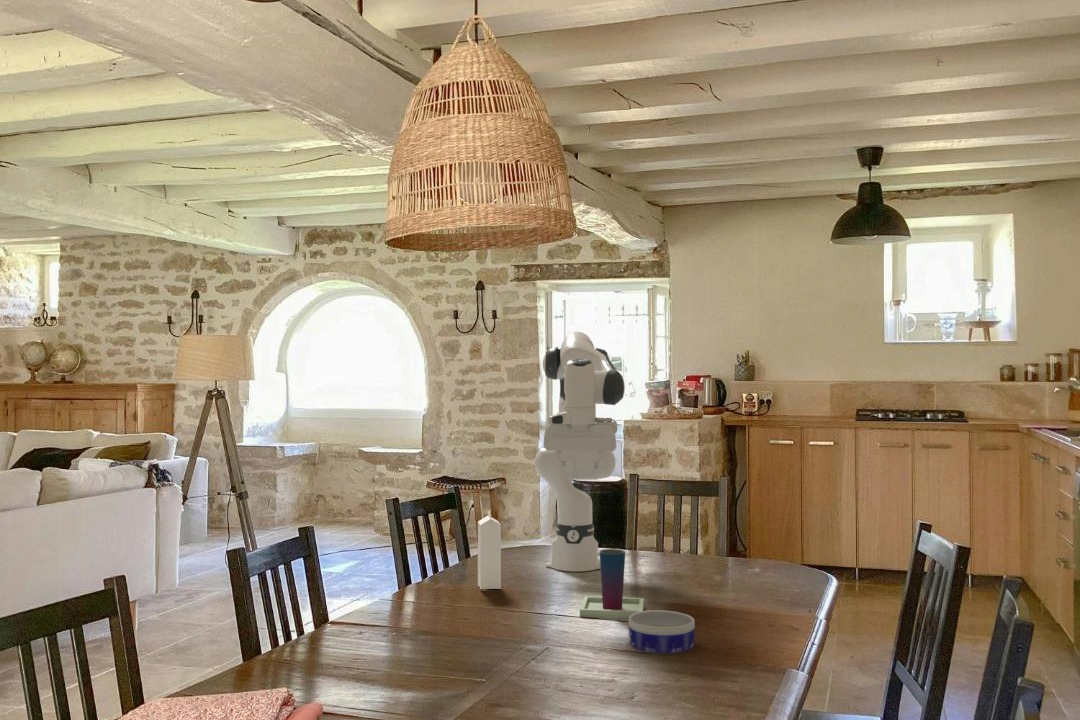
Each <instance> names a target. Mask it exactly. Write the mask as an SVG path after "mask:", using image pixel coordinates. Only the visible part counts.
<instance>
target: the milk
mask: <svg viewBox="0 0 1080 720" xmlns="http://www.w3.org/2000/svg"><path fill="white" fill-rule="evenodd" d="M501 582H502V524H501V523H500V522H499V521H498V520H497V519H495V518H493V517H492V514H491V512H490V511H489V510H487V515H486V516H485V517H483V518H482V519H479V520H478V521H477V587H478V586H479V587H480V588H479V587H478V588H479V590H480V589H501V590H502V583H501Z"/></svg>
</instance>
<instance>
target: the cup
mask: <svg viewBox="0 0 1080 720" xmlns="http://www.w3.org/2000/svg"><path fill="white" fill-rule="evenodd" d="M599 557H600V568H601V569H600V580H601V581H600V582H601V597H602V601H603V609H604V610H621V609H622V600H623V596H624V581H625V565H626V564H625V563H626V550H623V549H618V548H606V549H600V550H599Z"/></svg>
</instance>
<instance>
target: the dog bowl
mask: <svg viewBox="0 0 1080 720" xmlns="http://www.w3.org/2000/svg"><path fill="white" fill-rule="evenodd" d="M695 624H696V622H695V618H694V617H692V616H691V615H689V614H687V613H682V612H679V611H672V610H663V609H661V610H659V609H657V610H656V609H655V610H643V611H642V612H637V613H634V614H632V615H630V616H629V618H628V643H629V646H630V647H632V648H634V649H635V650H639V651H642V652H646V653H651V652H652V654H664V653H668V654H677V653H676V652H680V653H683V652H682V651H685V652H687V651H686V650H688V651H690V650H691V649H690V648H692V647H693V648H694V646H695V631H696V630H695V629H696V627H695V626H696V625H695ZM693 648H692V649H693ZM689 649H690V650H689Z"/></svg>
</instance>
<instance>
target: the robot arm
mask: <svg viewBox="0 0 1080 720" xmlns="http://www.w3.org/2000/svg"><path fill="white" fill-rule="evenodd" d="M542 369H543V372H544V374H545V377H547V379H551V380H554V381H556V380H559V388H560V389H559V399H558V412H557V413H555V414H552V415H550V416H548V418H547V423H548V425H547V426H546V428H545V429H544V433H543V434H544V435H543V445H542V446H543V447H541V448H540V449H539V450H538V452H537V453H536V455H535V457H534V468H535V471H536V473H537V474H538V475H539V477H541V478H542V479H543V480H544V481H545V482H547V483H548V485H549V486H550V487H551V489H552V491H553V492H554V496H555V498H556V505H557V506H556V507H557V508H556V510H557V522H556V527H555V530H556V533H555V534H556V537H555V538H553V539H552V541H551V549H550V551H551V552H550V555H551V556H550V560H549V561H546V563H545V567H546V568H551V569H555V570H557V571H564V572H576V573H577V572H588V571H594V570H598V569H599V570H601V568H600V551H599V542H598V541H597V540H596V539H595V536H594V534H595V531H594V530H595V526H594V523H593V501H592V500H593V499H592V498H591V496H590V495H589V494H588V493H586V492H584V491H583V490H581V489H578V488H577V487H575V486H574V484H573V481H575V480H576V481H577V480H578V481H581V480H582V481H597V480H602V479H607V478H609V477H611V475H612V474H613V473H614V471H615V469H616V462H617V461H616V457H615V454H614V453H613V452H614V451H616V450H617V439H616V434H617V432H618V422H617V421H616V420H615V419H613V418H611V417H597V416H596V415H597V414H596V412H597V408H596V407H597V406H596V405H608V406H615V405H617V404H618V403H620V402H621V401H622V399H623V398H624V395H625V390H626V386H625V380H624V378H623V375H622V374H621V372H619V371H618V370H617V369H616V367H615V366H614V364H613V363H612V361H611V360H610V357H609V354H608V352H607V351H606V350H605V349H602V348H600V347H599V348H598V347H595V346H594V343H593V341H592V339H591V338H590V337H589V336H588V335H587V334H586V333H584V332H582V331H573V332H571V333H569V334H568V335H566V336H565V337H564V339H563V341H562V343H561V345H560V346H558V345H555V346H554V347H552V348H549V349H548V350H547V351H546V352H545V354H544V356H543V358H542Z"/></svg>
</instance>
